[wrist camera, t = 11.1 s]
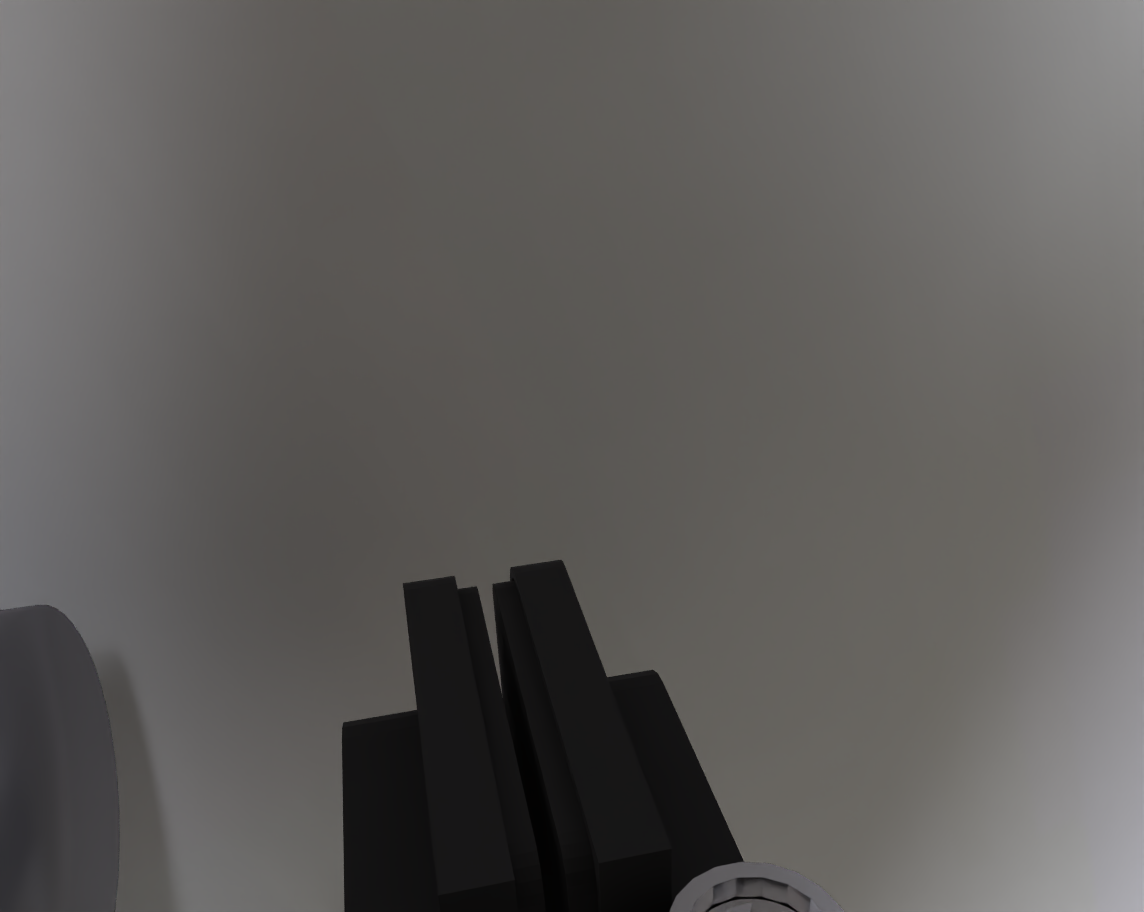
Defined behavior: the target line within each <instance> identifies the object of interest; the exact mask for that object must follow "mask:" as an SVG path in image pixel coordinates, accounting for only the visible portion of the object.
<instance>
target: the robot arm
mask: <svg viewBox="0 0 1144 912" xmlns="http://www.w3.org/2000/svg"><path fill="white" fill-rule="evenodd" d="M403 589H404V598H405V607H406V615H407V624H408V633H409V642H410V651H411V660H412V668H413V677H414V686H415V695H416V704H417V710H414V711H408V712H402V713H397V714H391V715H385V716H379V717H373V718H367V719H361V720H356V721H350V722H344V723H343V727H342V767H343V836H344V905H345V912H844V911H843V909H842V908H841V907H840V905H839V904H838V903H837V902H836V901H835V900H834V899H833V898H832V897H831V896H830V895H829V894H828V893H827V892H826V891H825V890H824V889H823V888H822V887H821V886H819V885H818V884H816V883H814V882H813V881H811V880H809V879H808V878H806V877H804V876H803V875H801V874H799V873H798V872H796V871H792V870H789V869H786V868H783V867H780V866H776V865H773V864H770V863H755V862H744V861H743V859H742V856H741V854H740V852H739V850H738V848H737V845H736V843H735V841H734V839H733V837H732V834H731V832H730V830H729V828H728V825H727V823H726V821H725V819H724V817H723V814H722V812H721V810H720V808H719V806H718V803H717V801H716V799H715V797H714V794H713V792H712V790H711V788H710V786H709V783H708V781H707V779H706V777H705V775H704V772H703V770H702V768H701V766H700V763H699V761H698V759H697V757H696V755H695V752H694V750H693V748H692V746H691V743H690V741H689V739H688V737H687V735H686V732H685V730H684V728H683V726H682V724H681V721H680V719H679V717H678V715H677V712H676V710H675V708H674V706H673V704H672V701H671V699H670V697H669V695H668V693H667V690H666V688H665V686H664V684H663V682H662V680H661V678H660V676H659V675H658V673H657V672H655V671H654V670H649V671H643V672H637V673H631V674H625V675H619V676H613V677H608V678H607V676H606V674H605V671H604V668H603V666H602V663H601V660H600V658H599V655H598V652H597V650H596V647H595V645H594V642H593V639H592V637H591V634H590V631H589V629H588V626H587V623H586V621H585V618H584V615H583V613H582V610H581V608H580V605H579V602H578V600H577V597H576V594H575V592H574V589H573V586H572V584H571V581H570V578H569V576H568V573H567V570H566V568H565V565H564V563H563V561H562V560H557V561H550V562H543V563H537V564H530V565H523V566H517V567H511V569H510V581H509V582H502V583H496V584H493V601H494V611H495V622H496V633H497V643H498V654H499V664H500V675H501V686H502V693H501V689H500V685H499V680H498V676H497V671H496V667H495V663H494V658H493V654H492V650H491V645H490V641H489V636H488V632H487V628H486V623H485V619H484V615H483V610H482V606H481V601H480V597H479V593H478V589H477V587H470V588H463V589H457V585H456V580H455V576H450V577H444V578H437V579H430V580H424V581H417V582H410V583H404V584H403ZM502 696H503V698H502Z"/></svg>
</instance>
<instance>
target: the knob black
mask: <svg viewBox="0 0 1144 912" xmlns="http://www.w3.org/2000/svg"><path fill="white" fill-rule="evenodd" d="M119 843H120V827H119V797H118V782H117V771H116V762H115V754H114V746H113V739H112V733H111V727H110V722H109V717H108V712H107V708H106V703H105V699H104V695H103V691H102V688H101V684H100V681H99V678H98V675H97V672H96V669H95V666H94V663H93V661H92V658H91V656H90V653H89V651H88V648H87V647H86V645H85V643H84V641H83V639H82V637H81V635H80V633H79V632H78V630H77V629H76V627H75V626H74V624H73V623H72V622H71V621H70V620H69V619H68V618H67V616H66V615H65V614H63V613H62V612H61V611H59V610H58V609H56V608H54V607H51V606H49V605H35V606H28V607H20V608H13V609H6V610H0V912H115V906H116V896H117V886H118V871H119Z"/></svg>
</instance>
